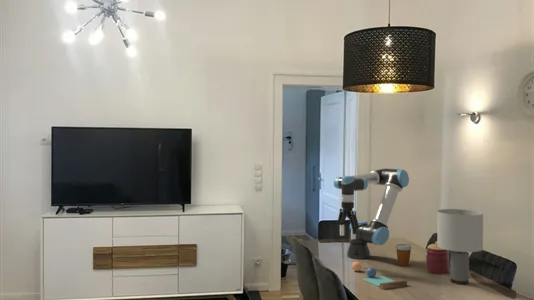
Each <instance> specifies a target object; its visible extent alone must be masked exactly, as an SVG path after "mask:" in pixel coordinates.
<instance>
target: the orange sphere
mask: <svg viewBox="0 0 534 300" xmlns="http://www.w3.org/2000/svg"><path fill="white" fill-rule="evenodd" d="M351 269H352V270H353V271H354V272H359V271H360V270H361V269H362V263H361V262H360V261H353V262H352V263H351Z"/></svg>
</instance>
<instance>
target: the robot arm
mask: <svg viewBox="0 0 534 300" xmlns="http://www.w3.org/2000/svg"><path fill="white" fill-rule="evenodd" d="M409 183H410V177H409V174H408V172H407V170H405V169H401V168H382V169H381V168H379V169H375V170H372V171H371V170H370V172H366V173H361V174H356V175H343V176H337V177H335V178H334V180H333V186H334V188H336V189H337V190H341V208H340V209H339V214H338V218H337V224H338V226H339V236H342V237H343V236H345V221H346V220H347V218H348V219H349V223H350V224H349V229H348V230H349V245H348V247H347V248H348V249H347V251H346V256H347V258H350V259H357V260H358V259H359V260H365V259H370V258H371V252H370V248H369V246H368V245H369V244H373V245H374V246H375V245H376V246H383V245H384V244H386V243H387V241H388V240H389V237H390V230H389V226H388V221H389V219H390V217H391V213H392V211H393V208H394V206H395V203H396V200H397V199H398V198H397V197H398V195H399V193H401V192H402V190H403V188H406V187H407V186H408V185H409ZM368 185H372V186H375V185H377V186H378V185H380V186H384V187H385V189H384V192H383V195H382V196H381V197H382V198H381V200H380V203H379V205H378V207H377V210H376V213H375V215H374V217H373V219H372V220H370V222H369V223H368V221H367V220H366V221H365V220H363V221H362V220H361V221H358V217H357V210H353V209H355V202H354V201H355V192H359V191H365V190H366V189H367V188H368Z"/></svg>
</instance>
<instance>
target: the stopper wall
mask: <svg viewBox="0 0 534 300" xmlns="http://www.w3.org/2000/svg"><path fill="white" fill-rule="evenodd" d="M406 286H408V280H406V279H400V280H394V281H393V282H386V283H380V286H379V289H381V290H386V289H395V288H400V287H406Z"/></svg>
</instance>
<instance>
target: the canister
mask: <svg viewBox="0 0 534 300" xmlns="http://www.w3.org/2000/svg"><path fill="white" fill-rule="evenodd" d="M425 252H426V255H425V260H426V261H425V263H426V264H425V271H426V272H428V273H430V274H435V275H446V274H447V275H448V274H449V273H450V257H449V254H450V250H446V249H442V248H439V247H438V246H437V241H435V242H434V243H431V244H429V245H427V248H426V250H425Z"/></svg>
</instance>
